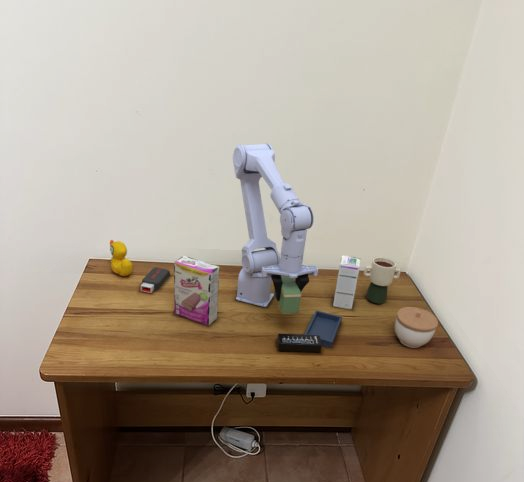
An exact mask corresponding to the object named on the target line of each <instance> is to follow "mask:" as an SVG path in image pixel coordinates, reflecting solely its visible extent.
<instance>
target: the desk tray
mask: <svg viewBox="0 0 524 482" xmlns="http://www.w3.org/2000/svg"><path fill="white" fill-rule="evenodd" d="M342 319H343V316H342V315H341V316H340V315H336V314H332V313H329V312H325V311H320V310H317V309H316V310H315V311H314V313H313V315H312V317H311V319H310V322H309V323H308V326H307V328H306V330H305V332H304V334H303V335H319V336H320V339H321V343H322V347H325V348H326V347H327V348H330V349H332V347H333V345H334V342H335V339H336V337H337V334H338V331H339V330H340V326H341V323H342Z"/></svg>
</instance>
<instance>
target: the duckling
mask: <svg viewBox="0 0 524 482" xmlns="http://www.w3.org/2000/svg"><path fill="white" fill-rule="evenodd" d="M109 251H110V254H111V256H112V257H111V258H110V268H111V271H113V272H114V273H115V274H118V275H119V276H122V277H127V276H130V275H131V274H132V273H133V268H134V265H133V263H132V262H131V260H130V259H129V258H126V256H127V254H128V248H127V246H126V244H125V243H124V242H122V241H120V240H117V241H114V240H113V239H111V240H109Z"/></svg>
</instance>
